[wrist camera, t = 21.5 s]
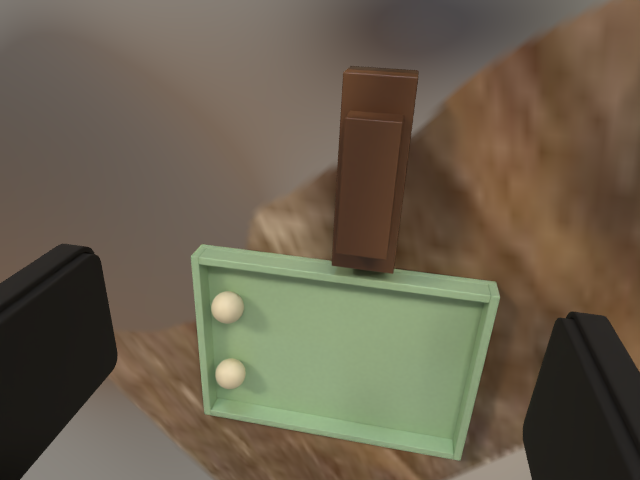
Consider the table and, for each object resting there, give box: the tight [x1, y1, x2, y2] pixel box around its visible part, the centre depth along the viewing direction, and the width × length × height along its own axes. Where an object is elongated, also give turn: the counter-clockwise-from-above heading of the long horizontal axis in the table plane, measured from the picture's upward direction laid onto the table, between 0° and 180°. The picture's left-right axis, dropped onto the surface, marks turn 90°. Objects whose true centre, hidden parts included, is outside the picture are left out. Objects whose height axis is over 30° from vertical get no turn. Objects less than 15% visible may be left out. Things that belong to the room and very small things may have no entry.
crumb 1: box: [211, 291, 244, 324], centre depth 36 cm, size 2×2×2 cm
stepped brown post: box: [332, 66, 418, 274], centre depth 29 cm, size 4×12×5 cm, turn 177°
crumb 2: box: [215, 358, 246, 389], centre depth 39 cm, size 2×2×2 cm
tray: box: [191, 244, 500, 461], centre depth 37 cm, size 21×15×2 cm
